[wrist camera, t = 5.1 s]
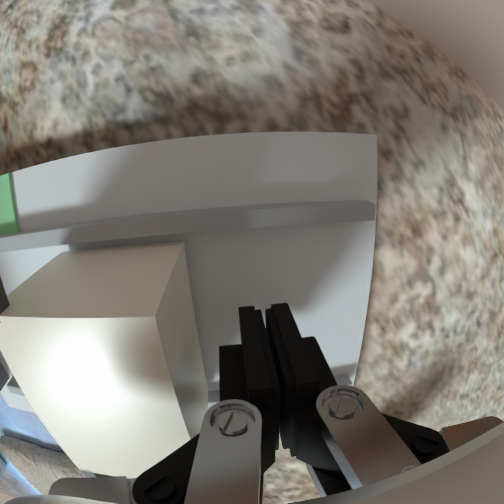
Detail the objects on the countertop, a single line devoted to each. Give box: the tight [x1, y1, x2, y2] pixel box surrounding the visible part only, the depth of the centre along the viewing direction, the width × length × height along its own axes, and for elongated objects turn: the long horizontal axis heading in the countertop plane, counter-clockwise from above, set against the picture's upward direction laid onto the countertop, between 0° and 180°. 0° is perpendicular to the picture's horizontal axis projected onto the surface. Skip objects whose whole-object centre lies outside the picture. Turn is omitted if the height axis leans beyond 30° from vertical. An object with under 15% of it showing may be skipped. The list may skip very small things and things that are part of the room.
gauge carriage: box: [0, 241, 208, 478], centre depth 9 cm, size 5×15×5 cm, turn 3°
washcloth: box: [0, 435, 114, 495], centre depth 18 cm, size 12×18×3 cm, turn 3°
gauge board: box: [0, 132, 378, 413], centre depth 9 cm, size 22×14×7 cm, turn 93°
